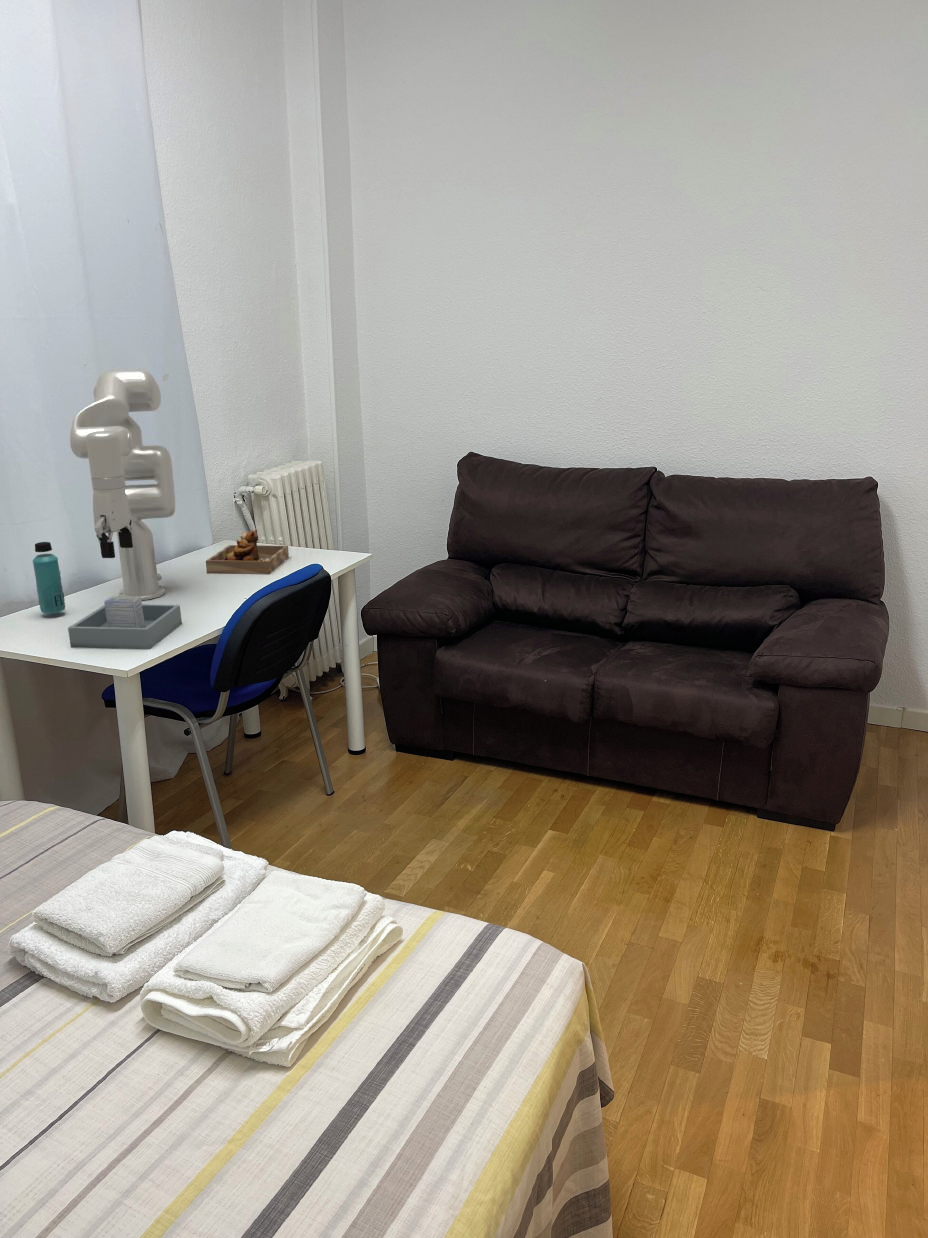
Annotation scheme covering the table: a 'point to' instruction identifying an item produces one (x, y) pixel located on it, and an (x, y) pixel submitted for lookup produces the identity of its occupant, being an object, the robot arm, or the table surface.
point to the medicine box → (124, 612)
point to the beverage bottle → (48, 580)
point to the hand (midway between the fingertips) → (117, 552)
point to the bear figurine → (246, 548)
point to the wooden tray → (248, 567)
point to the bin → (125, 629)
